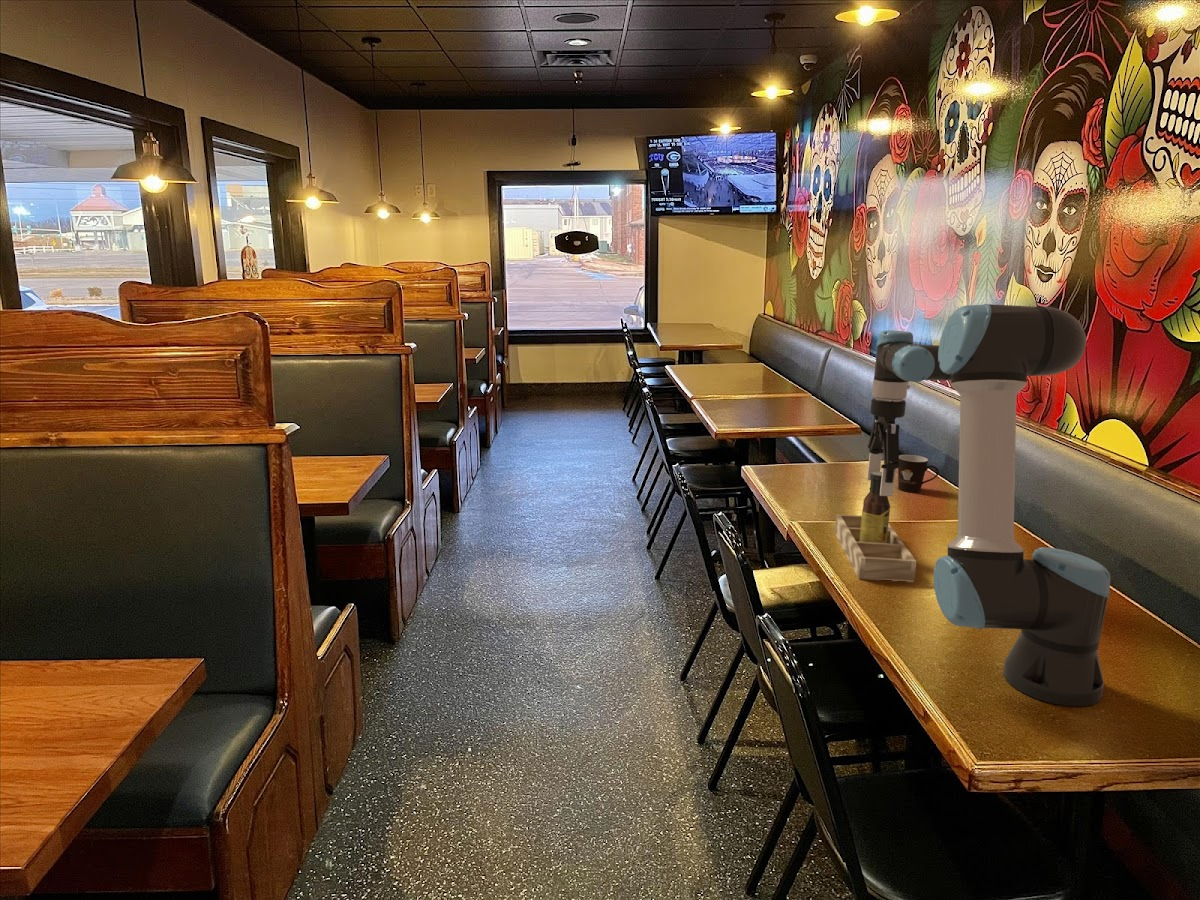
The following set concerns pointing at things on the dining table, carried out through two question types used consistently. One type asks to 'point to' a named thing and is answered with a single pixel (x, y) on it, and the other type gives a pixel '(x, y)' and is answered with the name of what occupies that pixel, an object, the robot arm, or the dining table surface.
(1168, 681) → the dining table surface
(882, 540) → the sauce bottle
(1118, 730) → the dining table surface
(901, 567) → the condiment rack
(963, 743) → the dining table surface
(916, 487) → the coffee mug
